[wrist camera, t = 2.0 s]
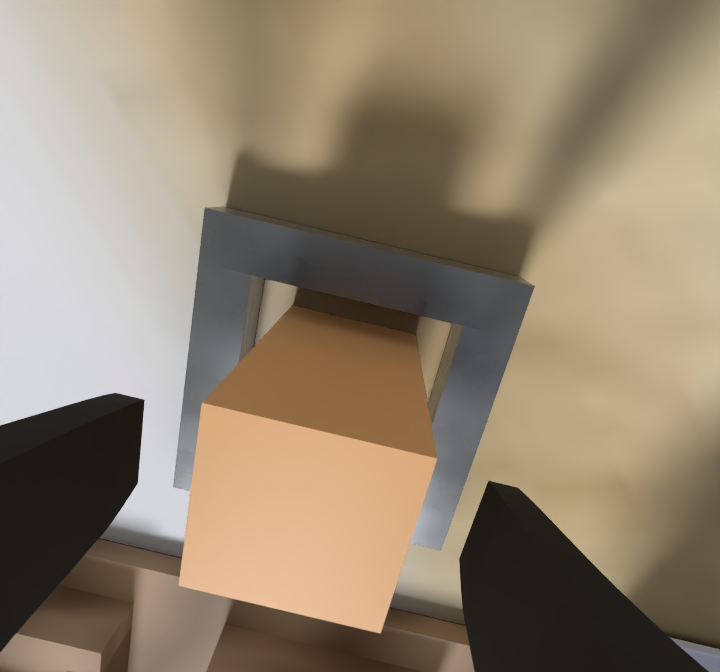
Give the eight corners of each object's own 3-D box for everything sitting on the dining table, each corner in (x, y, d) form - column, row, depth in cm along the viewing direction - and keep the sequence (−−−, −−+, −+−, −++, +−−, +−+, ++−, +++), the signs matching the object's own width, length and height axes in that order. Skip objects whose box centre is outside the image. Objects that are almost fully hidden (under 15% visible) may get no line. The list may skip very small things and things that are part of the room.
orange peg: (415, 334, 14) (437, 458, 7) (385, 442, 15) (380, 633, 9) (292, 305, 14) (201, 402, 7) (272, 416, 15) (178, 585, 9)
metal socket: (519, 276, 13) (534, 285, 12) (436, 519, 16) (441, 550, 14) (225, 206, 13) (204, 207, 12) (193, 461, 16) (173, 487, 14)
